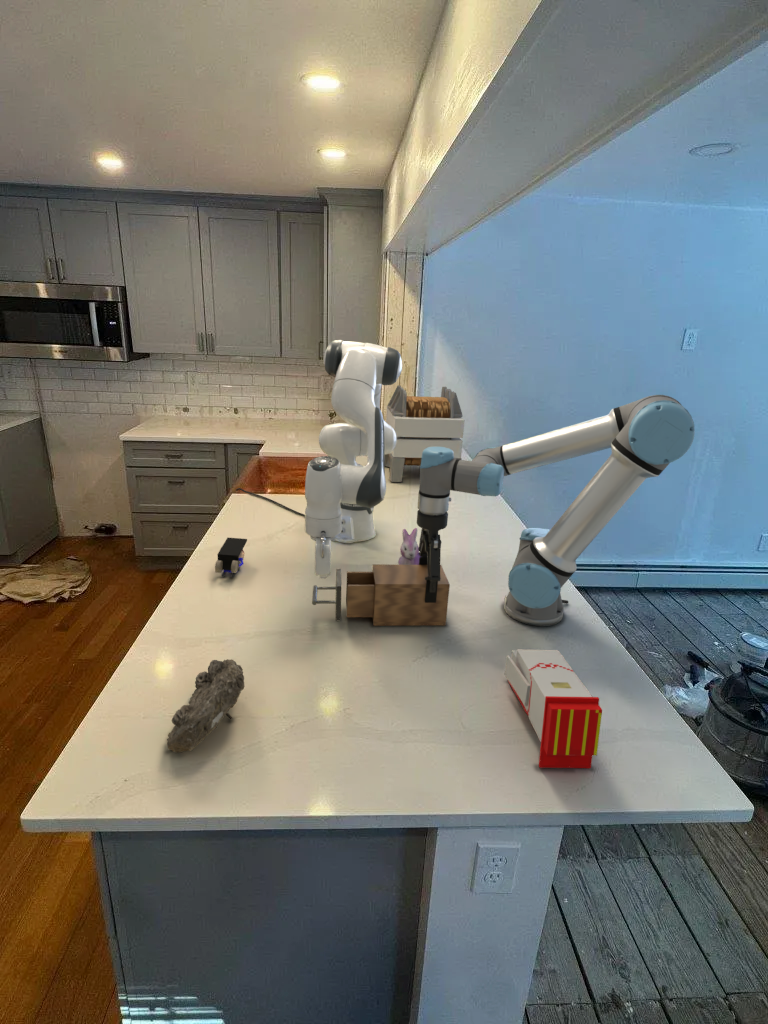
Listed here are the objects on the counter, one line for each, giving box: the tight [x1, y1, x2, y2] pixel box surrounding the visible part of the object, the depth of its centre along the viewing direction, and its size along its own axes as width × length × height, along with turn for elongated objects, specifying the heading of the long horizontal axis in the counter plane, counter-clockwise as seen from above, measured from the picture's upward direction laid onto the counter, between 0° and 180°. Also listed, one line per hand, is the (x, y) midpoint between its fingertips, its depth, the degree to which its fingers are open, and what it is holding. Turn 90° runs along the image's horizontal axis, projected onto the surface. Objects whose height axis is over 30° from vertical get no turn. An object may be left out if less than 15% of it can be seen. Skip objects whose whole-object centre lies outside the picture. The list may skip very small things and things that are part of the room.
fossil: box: [166, 658, 245, 754], centre depth 106 cm, size 22×10×15 cm
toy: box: [504, 648, 603, 769], centre depth 111 cm, size 12×13×30 cm
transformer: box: [384, 384, 465, 483], centre depth 268 cm, size 34×33×41 cm
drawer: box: [311, 568, 375, 622], centre depth 144 cm, size 23×10×10 cm, turn 95°
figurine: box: [398, 527, 421, 565], centre depth 166 cm, size 9×10×15 cm
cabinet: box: [371, 563, 451, 627], centre depth 146 cm, size 18×11×12 cm, turn 95°
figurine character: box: [214, 537, 248, 578], centre depth 166 cm, size 7×8×15 cm
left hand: (323, 576), depth 142 cm, fingers closed
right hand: (426, 590), depth 146 cm, fingers closed on cabinet, 11 cm apart
